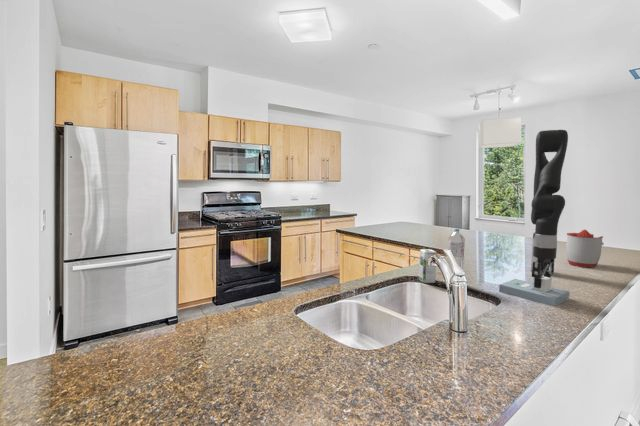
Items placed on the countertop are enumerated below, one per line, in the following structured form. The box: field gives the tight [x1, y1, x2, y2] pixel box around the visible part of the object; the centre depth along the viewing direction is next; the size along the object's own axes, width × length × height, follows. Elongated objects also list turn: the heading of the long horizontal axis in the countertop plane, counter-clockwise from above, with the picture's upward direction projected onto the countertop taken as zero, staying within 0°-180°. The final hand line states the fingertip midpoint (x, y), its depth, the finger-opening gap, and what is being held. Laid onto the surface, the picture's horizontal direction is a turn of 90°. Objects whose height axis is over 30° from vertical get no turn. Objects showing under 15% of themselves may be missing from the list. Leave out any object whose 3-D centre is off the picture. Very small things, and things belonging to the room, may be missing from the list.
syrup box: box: [418, 248, 437, 284], centre depth 150 cm, size 6×6×14 cm
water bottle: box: [447, 228, 466, 271], centre depth 145 cm, size 7×7×25 cm
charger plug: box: [532, 275, 553, 293], centre depth 130 cm, size 5×5×8 cm
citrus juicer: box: [565, 229, 604, 268], centre depth 180 cm, size 16×17×20 cm
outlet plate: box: [498, 278, 570, 307], centre depth 133 cm, size 14×20×3 cm
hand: (542, 285), depth 130 cm, fingers open, 8 cm apart
